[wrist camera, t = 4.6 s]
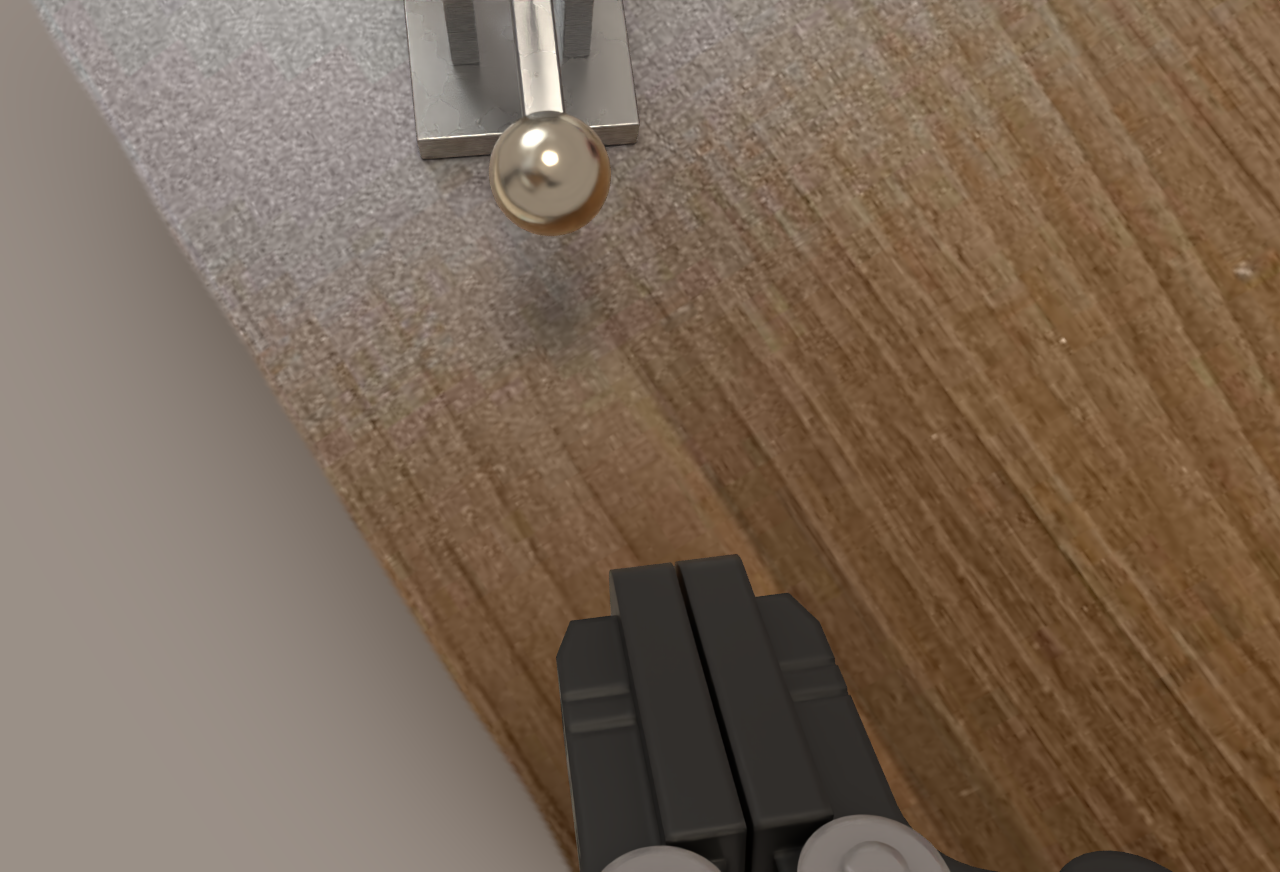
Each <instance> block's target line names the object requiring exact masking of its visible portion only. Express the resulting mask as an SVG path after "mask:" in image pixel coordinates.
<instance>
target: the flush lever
mask: <svg viewBox="0 0 1280 872" xmlns="http://www.w3.org/2000/svg"><path fill="white" fill-rule="evenodd" d="M509 3H510V12H511V21H512V30H513V39H514V48H515V57H516V66H517V75H518V84H519V93H520V102H521V111H522V117H521V118H519V119H518V120H516V121H514V122H513V123H512V124H511V125H509V126H508V127H507V128H506V129H505V130H504V131H503V133H502V134H501V135H500V137H499V138H498V140H497V142H496V144H495V146H494V148H493V151H492V153H491V157H490V163H489V182H490V187H491V190H492V193H493V196H494V199H495V201H496V203H497V205H498V206H499V208H500V209H501V211H502V212H503V213H504V214H505V216H506V217H507V218H508V219H510V220H511V221H512V222H513V223H514V224H516V225H517V226H518V227H520V228H522V229H524V230H526V231H528V232H531V233H533V234H537V235H542V236H560V235H565V234H569V233H572V232H574V231H576V230H578V229H580V228H582V227H583V226H585V225H586V224H588V223H589V222H590V221H591V220H592V219H593V218H594V217H595V216H596V215H597V214H598V212H599V211H600V210H601V208H602V206H603V204H604V202H605V200H606V198H607V195H608V193H609V188H610V181H611V167H610V161H609V157H608V154H607V151H606V149H605V147H604V145H603V143H602V141H601V139H600V138H599V136H598V135H597V134H596V133H595V132H594V130H593V129H592V128H590V127H589V126H588V125H587V124H586V123H584V122H583V121H582V120H580V119H578V118H576V117H574V116H572V115H570V114H567V113H565V104H564V95H563V86H562V78H561V69H560V60H559V51H558V42H557V33H556V24H555V16H554V7H553V0H509Z"/></svg>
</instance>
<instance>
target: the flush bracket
mask: <svg viewBox="0 0 1280 872" xmlns="http://www.w3.org/2000/svg"><path fill="white" fill-rule="evenodd" d="M553 7H554V16H555V24H556V33H557V42H558V51H559V60H560V69H561V78H562V86H563V95H564V104H565V113H567V114H570V115H572V116H574V117H576V118H578V119H580V120H582V121H583V122H584V123H586V124H587V125H588V126H589V127H590V128H592V129H593V130H594V132H595V133H596V134H597V135H598V136H599V138H600V139H601V141H602V143H603V145H604V146H605V145H618V144H631V143H636V141H637V135H638V130H639V125H640V122H639V115H638V107H637V100H636V93H635V86H634V79H633V71H632V64H631V57H630V50H629V42H628V35H627V28H626V21H625V13H624V6H623V0H553ZM404 10H405V21H406V31H407V42H408V52H409V63H410V73H411V84H412V95H413V105H414V116H415V126H416V137H417V143H418V147H419V151H420V155H421V158H422V159H434V158H447V157H460V156H473V155H487V154H491V153H492V151H493V148H494V146H495V144H496V142H497V140H498V138H499V137H500V135H501V134H502V133H503V131H504V130H505V129H506V128H507V127H508V126H509V125H511V124H512V123H513V122H514V121H516V120H518V119H519V118H521V117H522V111H521V102H520V93H519V84H518V75H517V66H516V57H515V48H514V39H513V30H512V21H511V12H510V3H509V0H404Z"/></svg>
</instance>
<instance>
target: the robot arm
mask: <svg viewBox="0 0 1280 872" xmlns="http://www.w3.org/2000/svg"><path fill="white" fill-rule="evenodd" d="M609 586H610V604H611V616H605V617H597V618H589V619H582V620H574V621H570V623H569V626H568V628H567V631H566V633H565V636H564V638H563V641H562V643H561V646H560V648H559V651H558V653H557V656H556V660H557V671H558V681H559V691H560V701H561V712H562V722H563V732H564V742H565V751H566V759H567V768H568V776H569V784H570V793H571V801H572V809H573V818H574V826H575V834H576V843H577V851H578V859H579V868H580V872H996V871H990V870H985V869H980V868H976V867H972V866H969V865H967V864H964V863H961V862H958V861H956V860H954V859H952V858H950V857H948V856H946V855H944V854H943V853H941V852H940V851H938V850H936V849H935V848H934V847H933V845H932V844H931V843H930V842H929V841H928V840H926V839H925V838H924V837H923V836H922V835H921V834H919V833H918V832H916V831H915V830H913V829H912V828H911V826H910V825H909V824H908V822H907V821H906V819H905V818H904V817H903V815H902V813H901V811H900V809H899V808H898V806H897V804H896V801H895V799H894V797H893V794H892V792H891V789H890V787H889V785H888V782H887V780H886V778H885V775H884V773H883V771H882V768H881V766H880V764H879V761H878V759H877V757H876V754H875V752H874V749H873V747H872V745H871V742H870V740H869V738H868V735H867V733H866V731H865V728H864V726H863V724H862V721H861V719H860V717H859V714H858V712H857V709H856V707H855V705H854V702H853V700H852V698H851V695H848V692H847V686H846V684H845V681H844V679H843V676H842V674H841V672H840V669H839V667H838V665H836V664H835V658H834V655H833V653H832V651H831V648H830V646H829V644H828V641H827V639H826V636H825V634H824V632H823V629H822V627H821V625H820V622H819V621H818V620H817V619H816V618H815V617H814V616H813V615H811V614H810V613H809V612H808V611H807V610H806V609H805V608H804V607H803V606H802V605H801V604H800V603H799V602H798V601H797V600H796V599H795V598H793V597H792V596H791V595H790V594H789V593H783V594H775V595H767V596H759V597H755V595H754V593H753V590H752V587H751V584H750V582H749V579H748V576H747V573H746V571H745V568H744V565H743V563H742V560H741V558H740V557H739V556H738V555H737V554H734V555H726V556H717V557H709V558H701V559H693V560H685V561H677V562H675V566H673V564H672V563H663V564H654V565H646V566H638V567H630V568H622V569H614V570H610V571H609ZM1060 872H1172V871H1170V870H1168V869H1167V868H1165V867H1163V866H1161V865H1159V864H1157V863H1155V862H1153V861H1151V860H1148V859H1146V858H1143V857H1140V856H1138V855H1133V854H1129V853H1125V852H1118V851H1096V852H1091V853H1087V854H1083V855H1081V856H1079V857H1076V858H1074V859H1073V860H1071V861H1070V862H1069V863H1067V864H1066V865H1065V866H1064V867H1063V868H1062V869H1061V871H1060Z"/></svg>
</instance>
